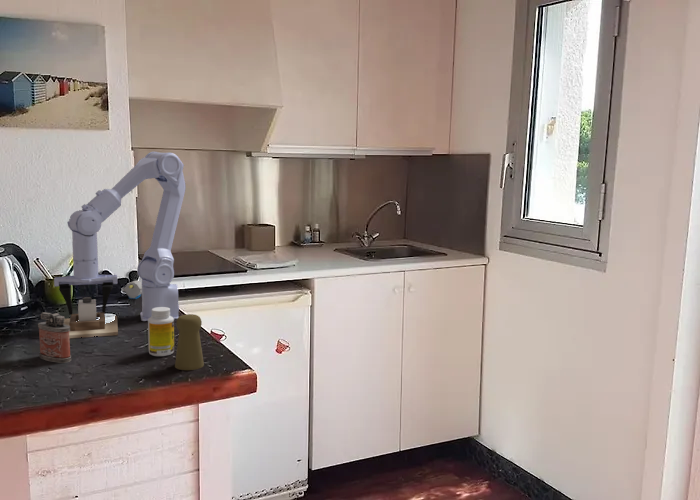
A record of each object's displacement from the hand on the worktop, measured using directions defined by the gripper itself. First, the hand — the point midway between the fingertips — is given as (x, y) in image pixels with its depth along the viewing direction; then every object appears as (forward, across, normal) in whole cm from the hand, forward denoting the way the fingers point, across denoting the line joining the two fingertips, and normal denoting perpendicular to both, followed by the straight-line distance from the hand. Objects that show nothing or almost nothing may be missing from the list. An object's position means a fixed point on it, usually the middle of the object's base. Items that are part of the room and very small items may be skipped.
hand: (87, 312), depth 167 cm
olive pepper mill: (+4, +21, -35) cm, 41 cm away
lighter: (+4, -6, -23) cm, 24 cm away
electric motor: (+4, +12, +31) cm, 34 cm away
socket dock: (+4, 0, 0) cm, 4 cm away
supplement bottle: (+4, +16, -25) cm, 30 cm away
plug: (+3, 0, 0) cm, 3 cm away
